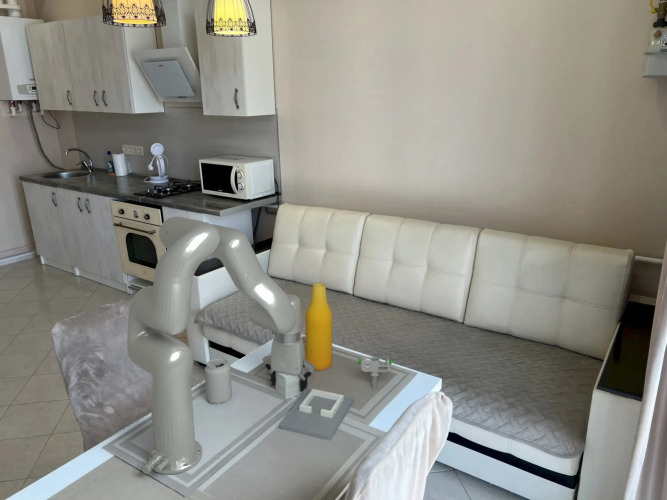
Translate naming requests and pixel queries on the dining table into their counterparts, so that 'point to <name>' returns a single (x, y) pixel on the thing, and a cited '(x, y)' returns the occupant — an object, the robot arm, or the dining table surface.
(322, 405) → the board
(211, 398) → the can
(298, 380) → the product box
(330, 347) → the beer bottle
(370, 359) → the mechanical component
